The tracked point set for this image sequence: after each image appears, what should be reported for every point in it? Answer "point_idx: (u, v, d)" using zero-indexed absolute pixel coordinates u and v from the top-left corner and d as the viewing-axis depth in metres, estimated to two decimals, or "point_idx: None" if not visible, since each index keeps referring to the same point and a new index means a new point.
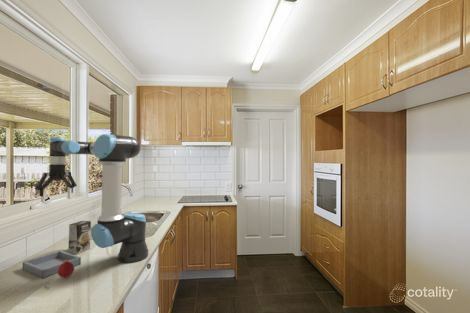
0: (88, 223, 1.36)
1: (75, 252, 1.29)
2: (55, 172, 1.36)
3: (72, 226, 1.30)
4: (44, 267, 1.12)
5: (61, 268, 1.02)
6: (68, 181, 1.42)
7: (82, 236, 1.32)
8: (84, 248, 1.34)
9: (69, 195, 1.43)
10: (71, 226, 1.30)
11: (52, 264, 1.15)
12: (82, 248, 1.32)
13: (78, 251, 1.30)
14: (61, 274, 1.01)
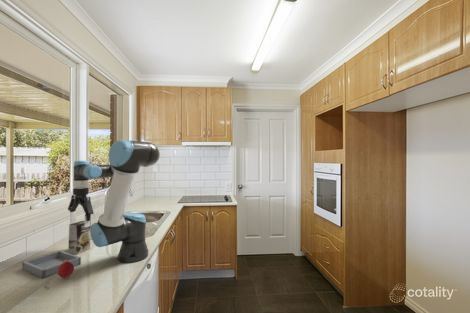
0: None
1: (75, 252, 1.29)
2: (77, 196, 1.34)
3: (72, 226, 1.30)
4: (44, 267, 1.12)
5: (61, 268, 1.02)
6: (84, 207, 1.31)
7: (82, 236, 1.32)
8: (84, 248, 1.34)
9: None
10: (71, 226, 1.30)
11: (52, 264, 1.15)
12: (82, 248, 1.32)
13: (78, 251, 1.30)
14: (61, 274, 1.01)
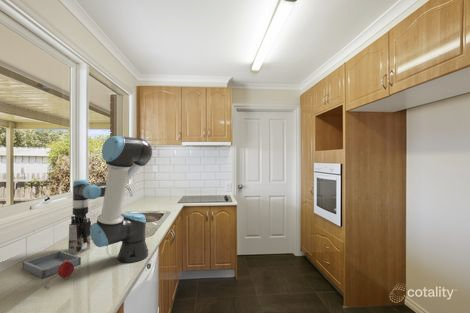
0: None
1: (75, 252, 1.29)
2: (76, 214, 1.34)
3: (72, 226, 1.30)
4: (44, 267, 1.12)
5: (61, 268, 1.02)
6: (82, 229, 1.32)
7: (82, 236, 1.32)
8: None
9: None
10: (71, 226, 1.30)
11: (52, 264, 1.15)
12: None
13: (78, 251, 1.30)
14: (61, 274, 1.01)
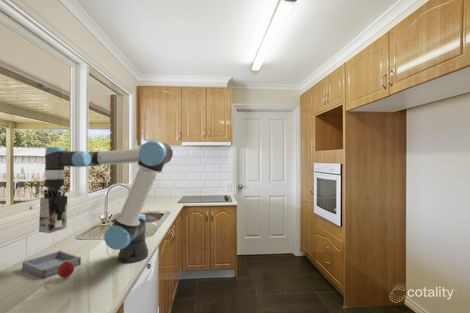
0: None
1: (47, 231, 1.10)
2: (49, 187, 1.14)
3: (43, 200, 1.10)
4: (44, 267, 1.12)
5: (61, 268, 1.02)
6: (55, 203, 1.12)
7: None
8: (58, 227, 1.14)
9: None
10: (42, 200, 1.11)
11: (52, 264, 1.15)
12: None
13: (50, 229, 1.10)
14: (61, 274, 1.01)
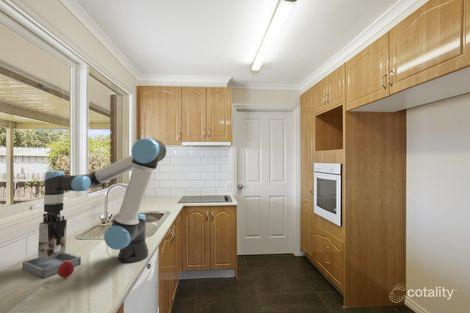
0: None
1: (46, 256, 1.09)
2: (48, 211, 1.14)
3: (43, 225, 1.10)
4: (44, 267, 1.12)
5: (61, 268, 1.02)
6: None
7: None
8: None
9: None
10: (41, 225, 1.10)
11: (52, 264, 1.15)
12: None
13: (49, 255, 1.10)
14: (61, 274, 1.01)
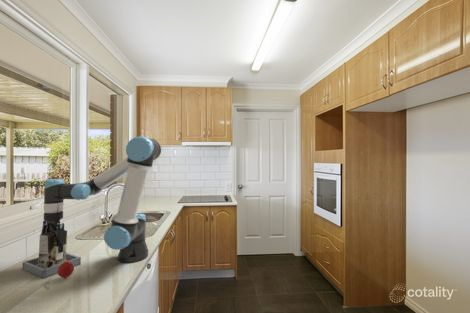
0: None
1: (46, 268, 1.09)
2: (49, 220, 1.14)
3: (43, 237, 1.10)
4: None
5: (61, 268, 1.02)
6: (55, 236, 1.11)
7: (55, 249, 1.12)
8: (58, 263, 1.13)
9: None
10: (42, 237, 1.10)
11: None
12: (55, 263, 1.12)
13: None
14: (61, 274, 1.01)
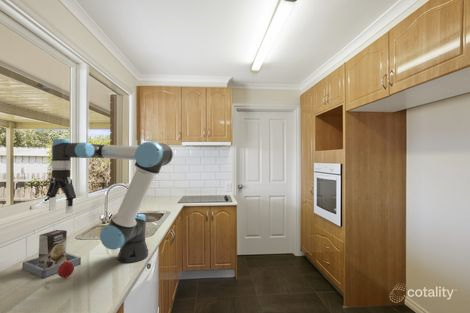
0: (63, 233, 1.16)
1: (46, 268, 1.09)
2: (56, 179, 1.18)
3: (42, 237, 1.10)
4: None
5: (61, 268, 1.02)
6: (65, 191, 1.15)
7: (55, 249, 1.12)
8: (58, 263, 1.13)
9: None
10: (41, 237, 1.10)
11: None
12: (55, 263, 1.12)
13: None
14: (61, 274, 1.01)
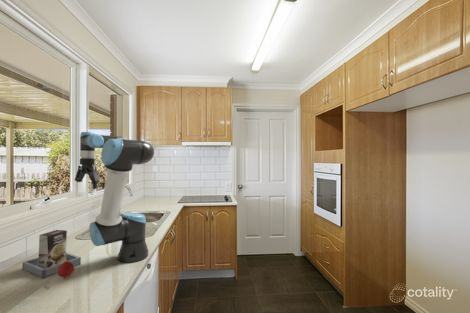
0: (63, 233, 1.16)
1: (46, 268, 1.09)
2: (83, 166, 1.40)
3: (42, 237, 1.10)
4: None
5: (61, 268, 1.02)
6: (90, 176, 1.37)
7: (55, 249, 1.12)
8: (58, 263, 1.13)
9: None
10: (41, 237, 1.10)
11: None
12: (55, 263, 1.12)
13: None
14: (61, 274, 1.01)
